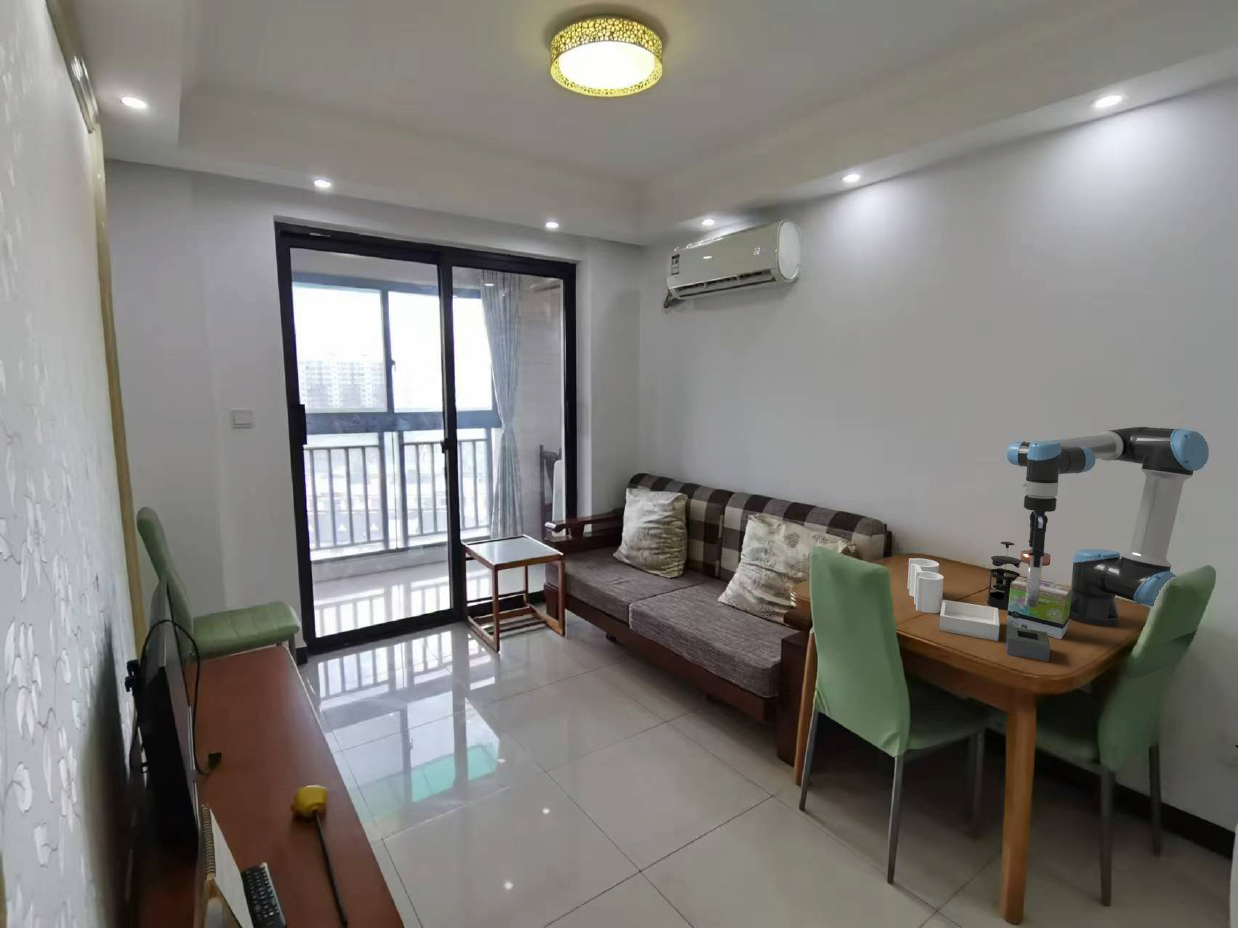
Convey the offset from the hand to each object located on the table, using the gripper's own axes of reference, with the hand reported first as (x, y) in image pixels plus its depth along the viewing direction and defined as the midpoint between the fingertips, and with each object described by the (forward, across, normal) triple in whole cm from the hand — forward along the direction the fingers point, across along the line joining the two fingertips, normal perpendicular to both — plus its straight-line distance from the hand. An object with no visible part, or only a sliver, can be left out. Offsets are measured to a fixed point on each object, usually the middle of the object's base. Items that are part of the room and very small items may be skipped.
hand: (1034, 573), depth 173 cm
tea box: (+24, -21, +4) cm, 32 cm away
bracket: (+24, -30, -29) cm, 49 cm away
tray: (+24, -12, -15) cm, 31 cm away
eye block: (+24, 0, 0) cm, 24 cm away
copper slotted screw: (+10, 0, 0) cm, 10 cm away
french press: (+24, -39, -5) cm, 46 cm away
